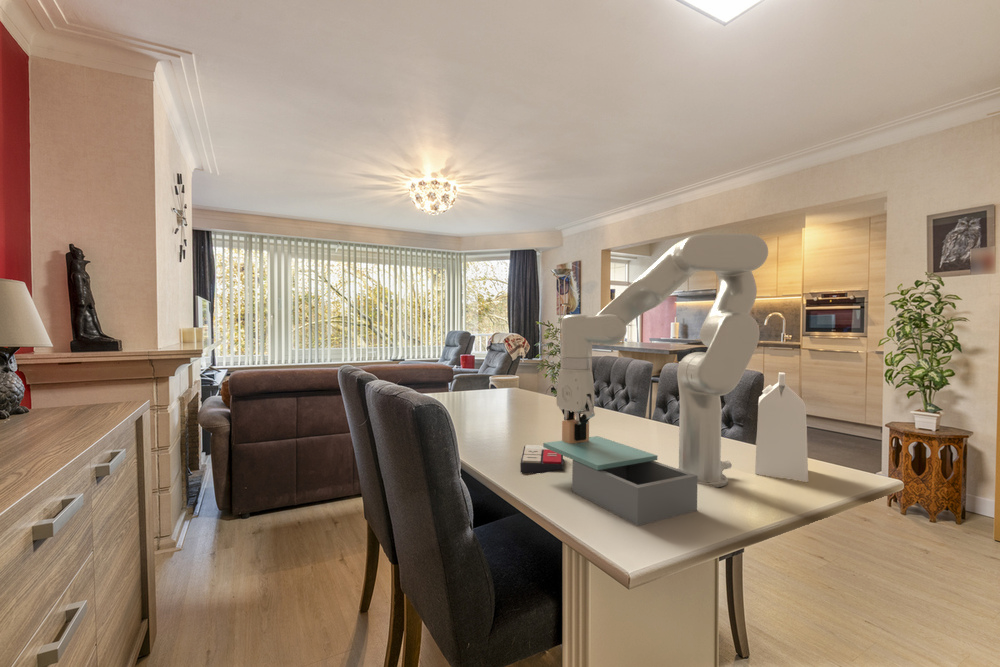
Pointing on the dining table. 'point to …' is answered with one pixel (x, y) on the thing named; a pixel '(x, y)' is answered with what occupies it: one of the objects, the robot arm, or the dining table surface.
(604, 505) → the tub
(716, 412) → the robot arm
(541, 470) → the calculator
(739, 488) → the dining table surface
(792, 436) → the milk
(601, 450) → the lid
